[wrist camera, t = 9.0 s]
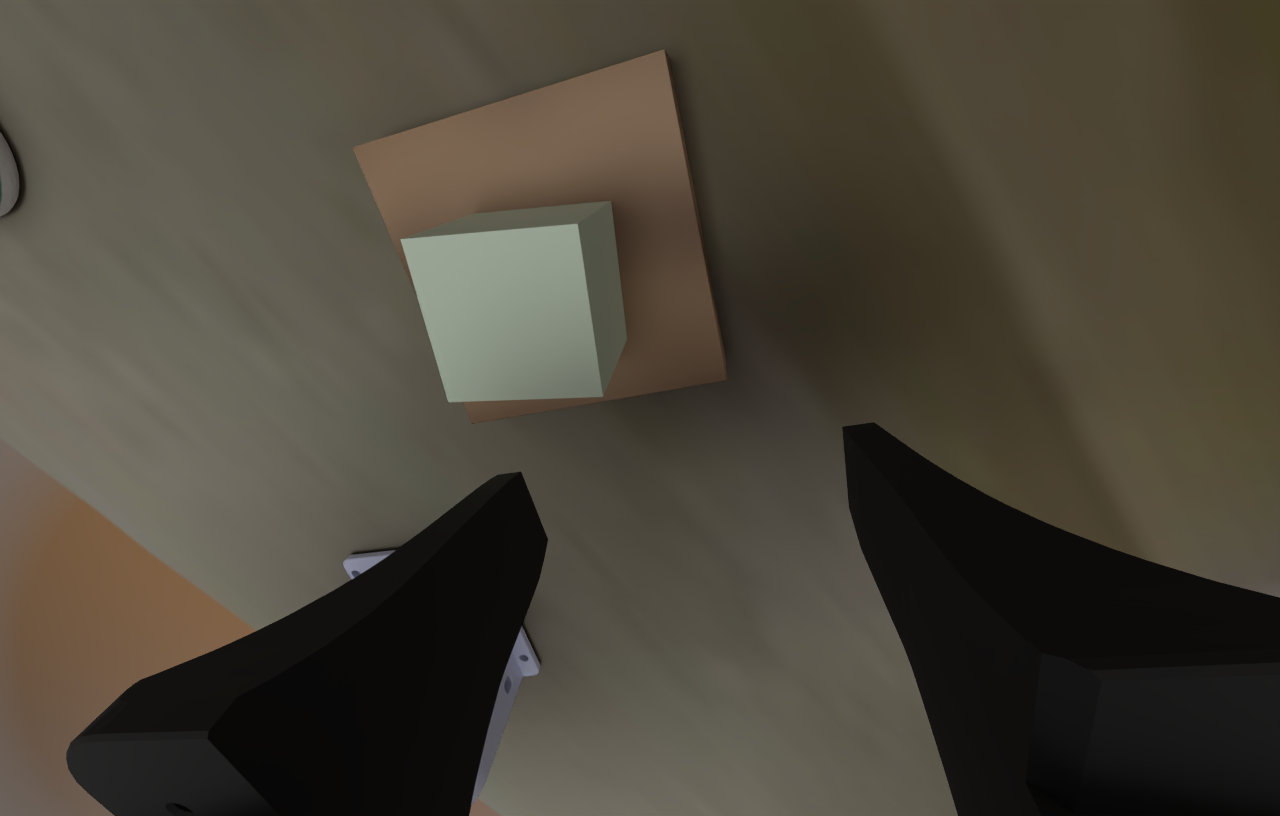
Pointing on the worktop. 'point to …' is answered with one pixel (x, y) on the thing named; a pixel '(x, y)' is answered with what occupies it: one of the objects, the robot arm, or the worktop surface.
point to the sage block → (522, 302)
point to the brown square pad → (573, 174)
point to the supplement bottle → (7, 178)
